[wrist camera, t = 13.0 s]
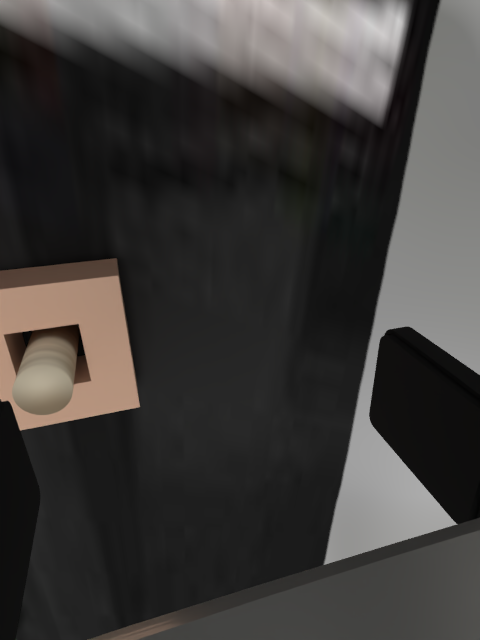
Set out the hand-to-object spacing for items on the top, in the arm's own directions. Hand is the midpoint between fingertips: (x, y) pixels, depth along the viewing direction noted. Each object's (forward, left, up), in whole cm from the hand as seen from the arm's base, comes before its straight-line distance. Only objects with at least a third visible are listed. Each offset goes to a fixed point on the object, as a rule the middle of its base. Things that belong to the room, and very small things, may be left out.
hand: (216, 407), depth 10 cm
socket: (+11, -9, -30) cm, 33 cm away
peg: (+11, -9, -30) cm, 33 cm away
